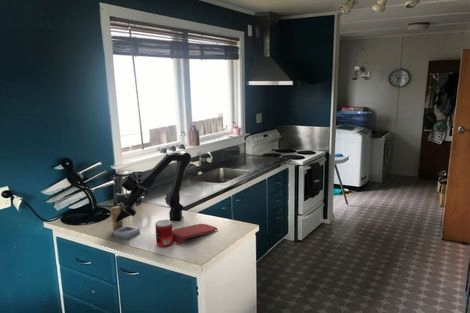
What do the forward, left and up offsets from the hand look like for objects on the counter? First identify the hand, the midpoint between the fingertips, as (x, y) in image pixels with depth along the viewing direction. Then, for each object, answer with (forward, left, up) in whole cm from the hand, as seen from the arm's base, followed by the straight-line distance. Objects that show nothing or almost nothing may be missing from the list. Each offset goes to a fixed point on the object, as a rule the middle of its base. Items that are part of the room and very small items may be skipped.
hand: (114, 219), depth 192 cm
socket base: (-8, +3, -7) cm, 11 cm away
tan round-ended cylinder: (-1, -1, -7) cm, 7 cm away
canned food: (-31, +11, -7) cm, 34 cm away
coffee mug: (+8, -35, -7) cm, 36 cm away
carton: (-42, -2, -7) cm, 42 cm away
